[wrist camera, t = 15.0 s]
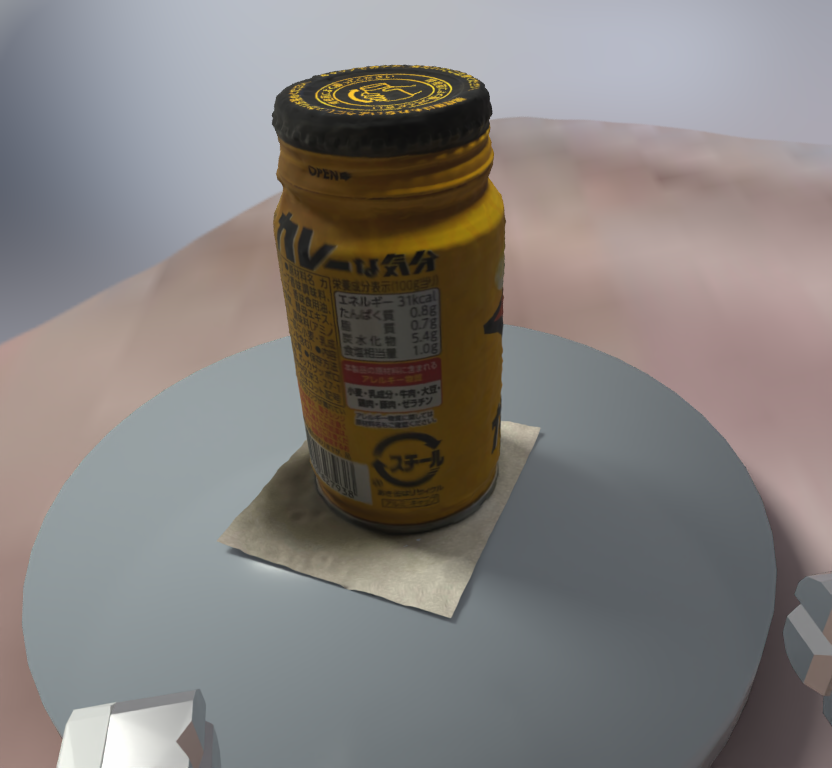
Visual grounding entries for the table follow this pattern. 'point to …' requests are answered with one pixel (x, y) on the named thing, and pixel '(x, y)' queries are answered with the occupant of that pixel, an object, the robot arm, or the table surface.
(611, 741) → the slate plate
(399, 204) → the yellow drink bottle
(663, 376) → the table surface
